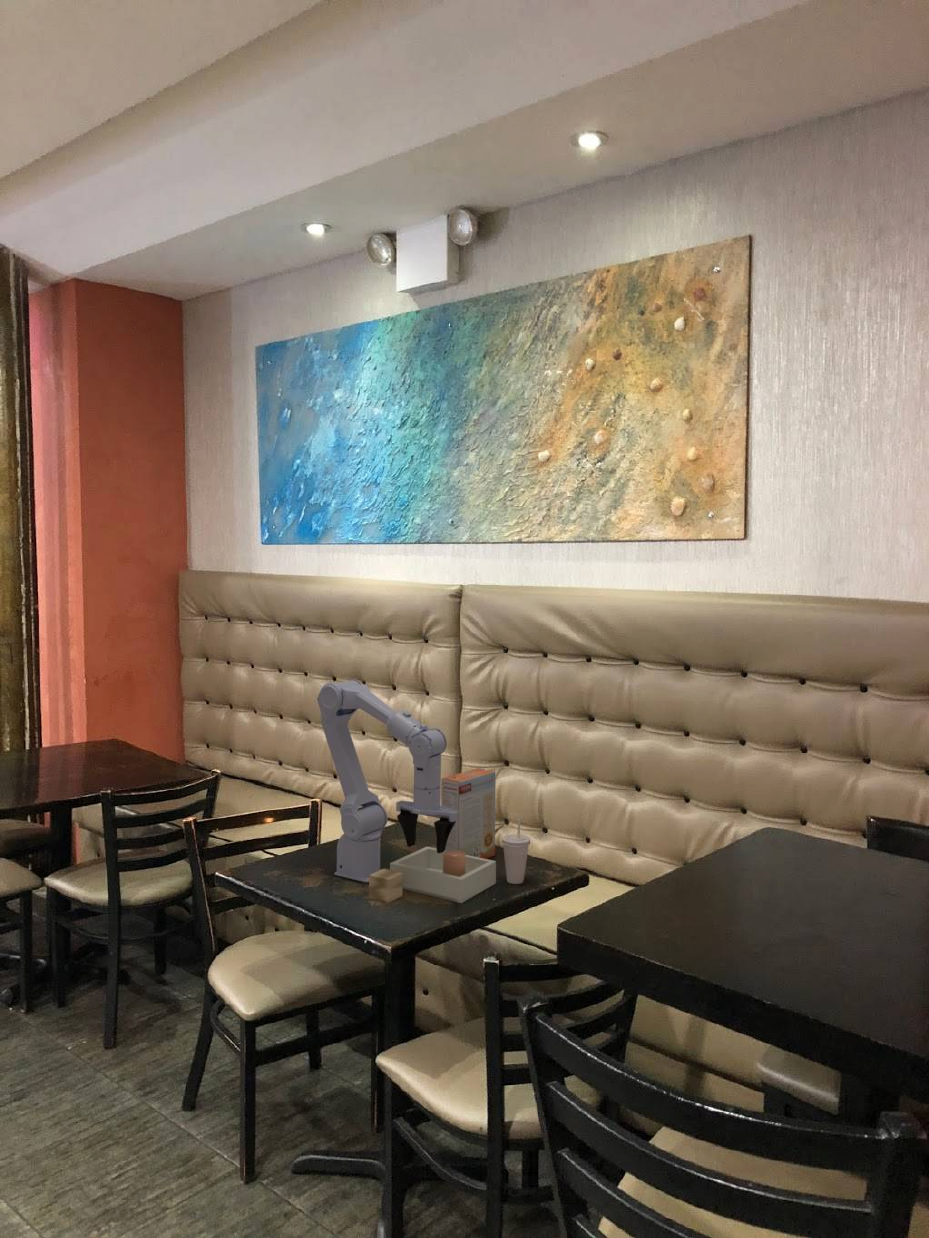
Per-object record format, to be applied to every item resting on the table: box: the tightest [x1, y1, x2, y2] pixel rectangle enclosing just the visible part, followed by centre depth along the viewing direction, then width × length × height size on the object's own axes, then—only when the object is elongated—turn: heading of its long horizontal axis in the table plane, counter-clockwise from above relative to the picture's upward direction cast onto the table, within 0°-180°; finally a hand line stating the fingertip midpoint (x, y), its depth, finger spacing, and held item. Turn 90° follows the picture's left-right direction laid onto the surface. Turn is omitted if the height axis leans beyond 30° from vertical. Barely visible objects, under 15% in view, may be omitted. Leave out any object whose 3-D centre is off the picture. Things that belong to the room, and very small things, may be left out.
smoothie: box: [501, 818, 531, 885], centre depth 212 cm, size 6×6×14 cm
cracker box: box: [440, 767, 496, 859], centre depth 225 cm, size 14×6×21 cm, turn 141°
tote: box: [389, 846, 497, 904], centre depth 209 cm, size 18×14×5 cm
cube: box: [368, 868, 404, 904], centre depth 201 cm, size 5×5×5 cm
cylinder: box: [442, 850, 466, 877], centre depth 207 cm, size 5×5×7 cm
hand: (425, 848), depth 205 cm, fingers open, 7 cm apart
